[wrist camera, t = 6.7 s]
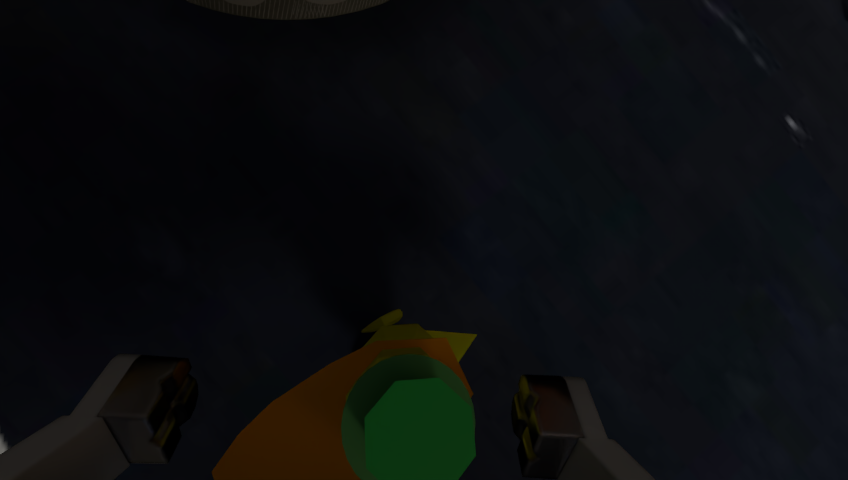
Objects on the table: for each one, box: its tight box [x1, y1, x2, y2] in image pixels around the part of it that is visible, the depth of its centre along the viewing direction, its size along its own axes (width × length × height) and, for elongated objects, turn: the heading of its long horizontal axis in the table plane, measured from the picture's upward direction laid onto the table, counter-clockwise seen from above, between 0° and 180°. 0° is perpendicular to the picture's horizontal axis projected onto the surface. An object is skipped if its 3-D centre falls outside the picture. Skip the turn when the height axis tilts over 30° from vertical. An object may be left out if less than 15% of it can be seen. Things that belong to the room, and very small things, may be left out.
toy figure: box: [212, 309, 477, 480], centre depth 11 cm, size 7×4×12 cm, turn 116°
